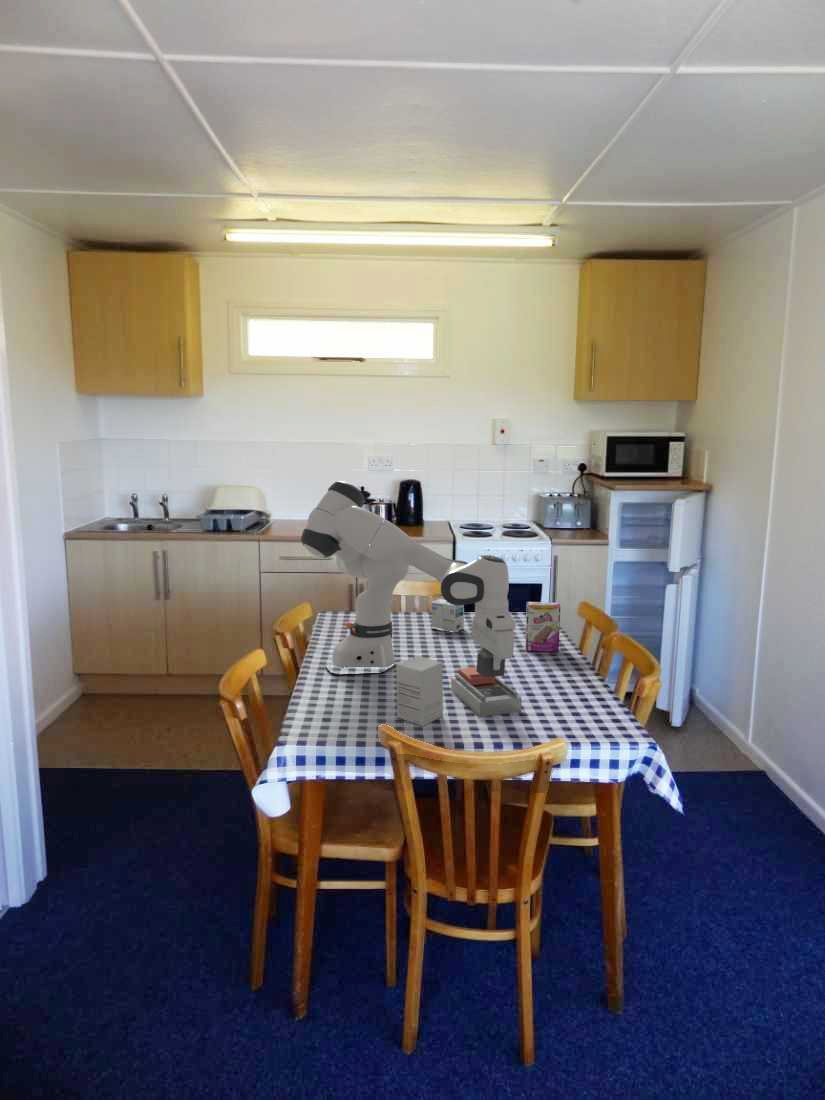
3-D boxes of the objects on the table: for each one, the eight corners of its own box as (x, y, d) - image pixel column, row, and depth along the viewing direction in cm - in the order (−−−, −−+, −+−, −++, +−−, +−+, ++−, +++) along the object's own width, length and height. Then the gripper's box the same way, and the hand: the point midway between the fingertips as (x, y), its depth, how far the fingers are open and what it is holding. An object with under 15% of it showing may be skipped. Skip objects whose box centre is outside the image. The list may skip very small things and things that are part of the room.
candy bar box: (525, 652, 255) (526, 604, 252) (525, 648, 260) (526, 601, 257) (559, 653, 254) (560, 605, 251) (558, 648, 258) (559, 602, 256)
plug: (483, 676, 202) (484, 655, 201) (476, 671, 206) (477, 649, 205) (504, 675, 203) (505, 654, 202) (496, 670, 208) (498, 649, 207)
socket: (479, 716, 199) (480, 698, 198) (451, 690, 219) (451, 673, 218) (521, 711, 203) (521, 692, 202) (489, 685, 223) (489, 668, 222)
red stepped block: (470, 685, 211) (470, 676, 210) (458, 675, 219) (458, 666, 219) (495, 682, 213) (495, 673, 212) (482, 672, 221) (482, 664, 221)
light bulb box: (464, 629, 283) (464, 601, 281) (455, 633, 277) (455, 605, 275) (439, 625, 289) (439, 598, 287) (430, 629, 283) (430, 601, 281)
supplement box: (417, 708, 206) (417, 655, 203) (443, 716, 200) (443, 661, 198) (395, 718, 199) (395, 663, 196) (422, 727, 193) (422, 670, 191)
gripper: (466, 607, 211) (465, 655, 213) (496, 626, 192) (495, 678, 194) (487, 606, 213) (486, 653, 215) (518, 624, 194) (517, 675, 196)
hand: (490, 665), depth 205 cm, fingers closed on plug, 5 cm apart
